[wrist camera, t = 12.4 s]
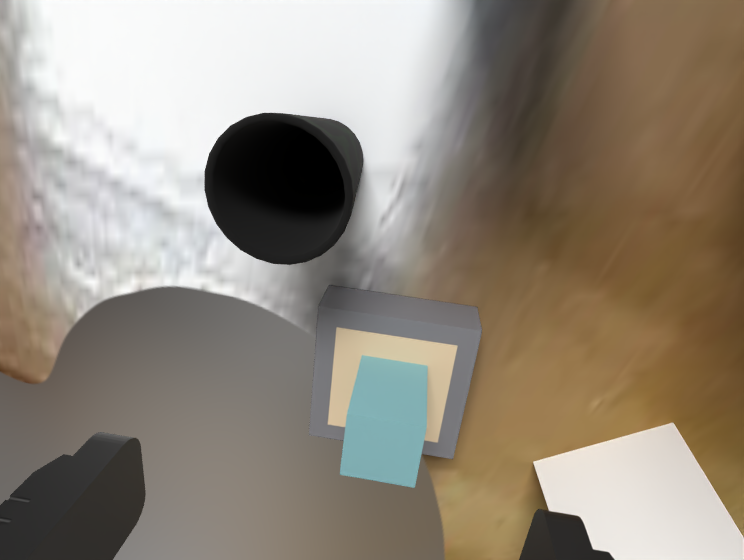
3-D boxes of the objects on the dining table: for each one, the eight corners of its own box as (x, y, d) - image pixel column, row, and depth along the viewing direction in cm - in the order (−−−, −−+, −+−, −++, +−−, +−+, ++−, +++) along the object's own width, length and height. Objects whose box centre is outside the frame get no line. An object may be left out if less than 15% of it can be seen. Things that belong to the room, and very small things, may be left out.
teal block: (427, 365, 36) (426, 427, 30) (417, 418, 38) (414, 487, 31) (361, 354, 36) (346, 413, 30) (355, 408, 38) (339, 474, 32)
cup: (369, 218, 36) (342, 277, 25) (271, 200, 37) (203, 251, 26) (385, 112, 33) (362, 127, 22) (278, 94, 34) (204, 100, 23)
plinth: (477, 306, 38) (482, 331, 34) (451, 426, 43) (453, 459, 39) (328, 285, 39) (318, 306, 35) (319, 405, 44) (308, 435, 40)
